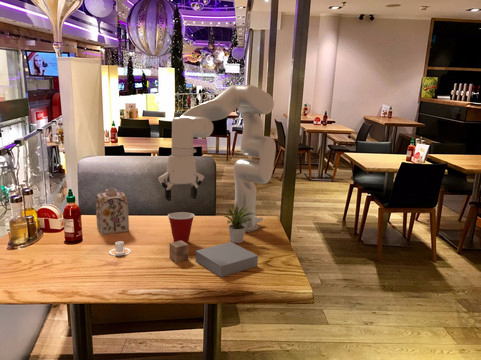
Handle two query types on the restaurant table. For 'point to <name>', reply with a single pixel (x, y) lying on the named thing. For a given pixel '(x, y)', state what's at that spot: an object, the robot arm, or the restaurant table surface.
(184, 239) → the plastic cup
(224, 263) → the grey square slab
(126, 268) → the restaurant table surface
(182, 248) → the walnut block
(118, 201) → the decorative jar
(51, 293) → the restaurant table surface
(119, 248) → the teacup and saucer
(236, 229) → the house plant
